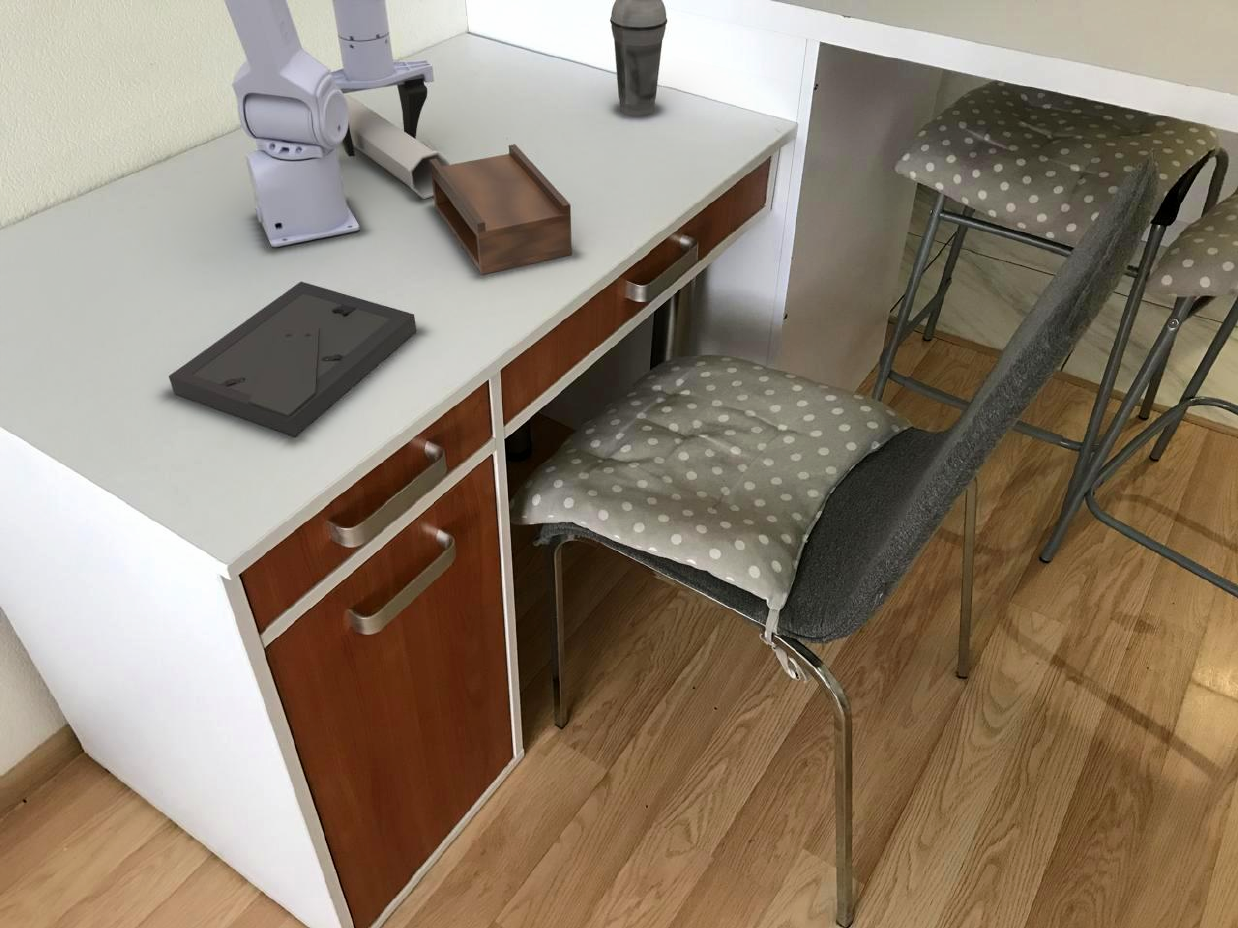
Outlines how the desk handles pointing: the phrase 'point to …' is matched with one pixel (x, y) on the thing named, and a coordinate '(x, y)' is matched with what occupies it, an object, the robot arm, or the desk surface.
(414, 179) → the tube
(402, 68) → the robot arm
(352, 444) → the desk surface
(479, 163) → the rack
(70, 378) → the desk surface
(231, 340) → the picture frame
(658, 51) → the beverage cup
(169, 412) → the desk surface
